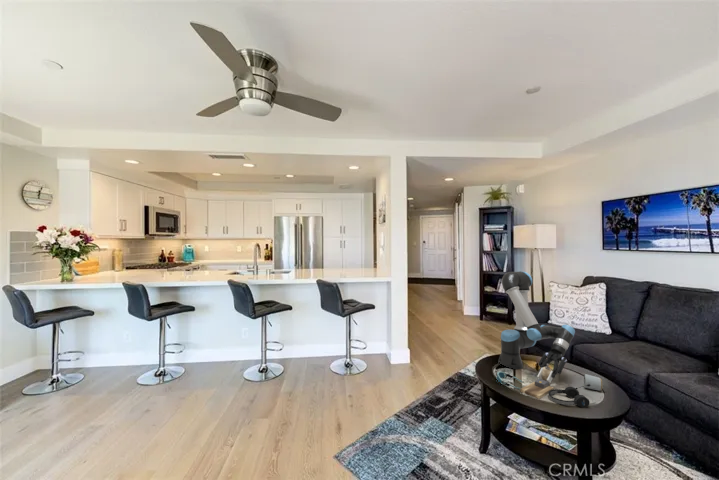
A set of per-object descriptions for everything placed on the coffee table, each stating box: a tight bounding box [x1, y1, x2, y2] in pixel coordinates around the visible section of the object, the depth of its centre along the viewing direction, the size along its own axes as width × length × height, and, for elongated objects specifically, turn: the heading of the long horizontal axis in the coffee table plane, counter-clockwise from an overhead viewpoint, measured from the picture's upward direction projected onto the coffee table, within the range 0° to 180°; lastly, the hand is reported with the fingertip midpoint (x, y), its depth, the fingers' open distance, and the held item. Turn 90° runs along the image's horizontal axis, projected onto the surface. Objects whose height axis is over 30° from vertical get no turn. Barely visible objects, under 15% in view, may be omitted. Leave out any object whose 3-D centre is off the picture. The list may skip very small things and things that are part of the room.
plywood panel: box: [519, 381, 555, 400], centre depth 170 cm, size 10×18×2 cm, turn 125°
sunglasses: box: [496, 371, 525, 390], centre depth 180 cm, size 14×15×5 cm
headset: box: [547, 384, 591, 408], centre depth 160 cm, size 14×10×20 cm
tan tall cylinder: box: [541, 363, 553, 386], centre depth 178 cm, size 4×4×12 cm
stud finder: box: [534, 378, 549, 389], centre depth 174 cm, size 5×6×3 cm
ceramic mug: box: [583, 373, 603, 392], centre depth 174 cm, size 11×8×8 cm
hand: (543, 379), depth 176 cm, fingers closed on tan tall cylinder, 5 cm apart
